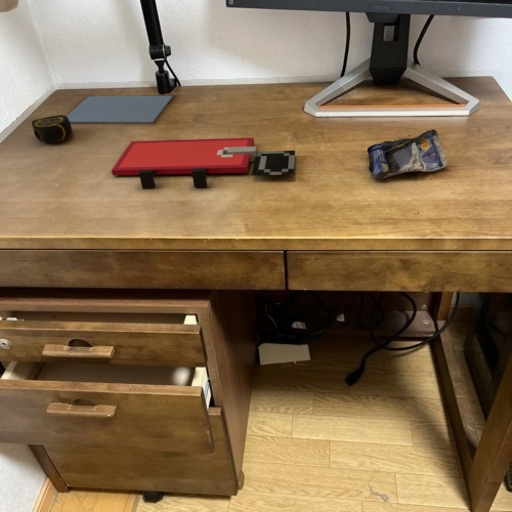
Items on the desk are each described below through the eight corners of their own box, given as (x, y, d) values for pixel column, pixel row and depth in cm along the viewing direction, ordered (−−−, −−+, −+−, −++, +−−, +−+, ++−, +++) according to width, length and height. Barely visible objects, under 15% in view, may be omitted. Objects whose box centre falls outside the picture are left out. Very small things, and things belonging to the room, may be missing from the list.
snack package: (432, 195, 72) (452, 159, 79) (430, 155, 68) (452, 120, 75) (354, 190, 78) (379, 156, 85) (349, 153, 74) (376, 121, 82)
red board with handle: (293, 185, 75) (296, 143, 87) (292, 169, 74) (295, 128, 86) (105, 189, 79) (133, 148, 91) (101, 173, 77) (129, 134, 89)
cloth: (60, 122, 102) (60, 121, 102) (89, 97, 113) (88, 96, 112) (153, 123, 99) (152, 121, 98) (173, 97, 109) (172, 95, 109)
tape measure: (71, 128, 99) (65, 110, 97) (75, 141, 94) (70, 122, 92) (36, 136, 97) (29, 118, 95) (38, 149, 92) (32, 130, 90)
